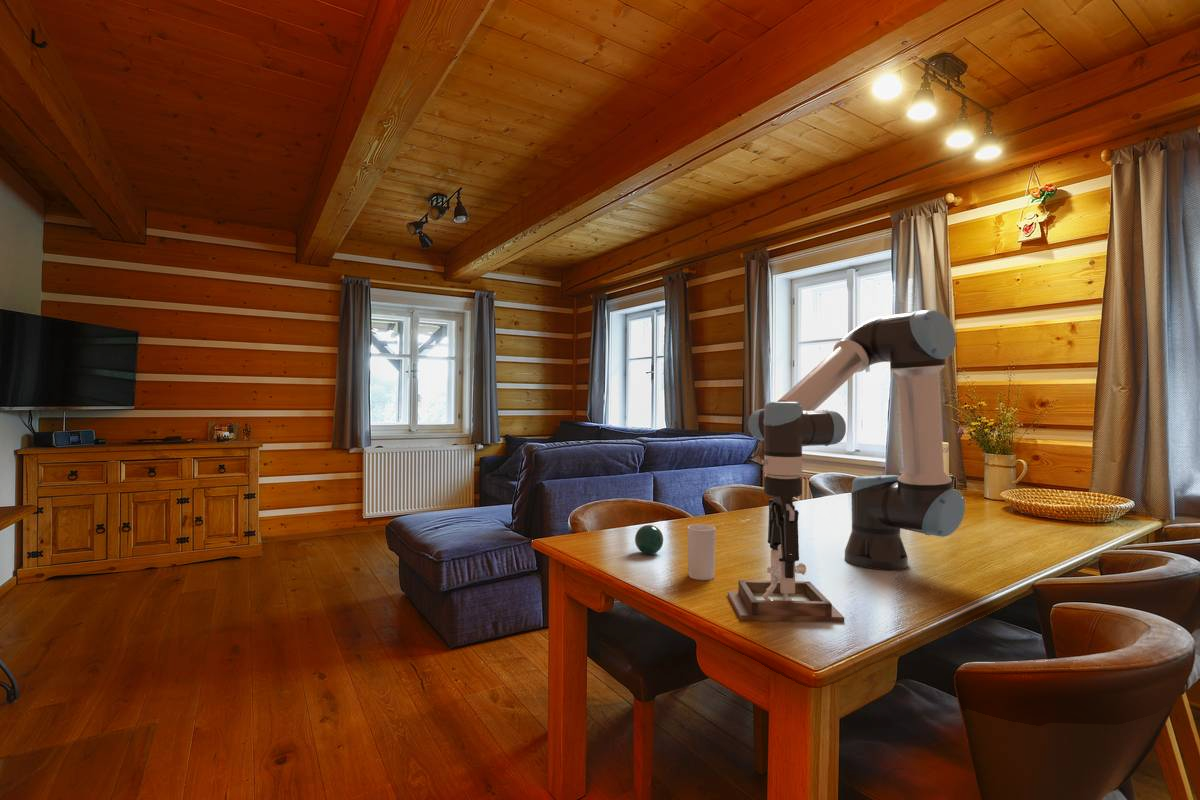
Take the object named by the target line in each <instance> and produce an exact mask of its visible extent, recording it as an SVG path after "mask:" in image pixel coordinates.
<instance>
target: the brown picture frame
mask: <svg viewBox="0 0 1200 800" xmlns="http://www.w3.org/2000/svg"><path fill="white" fill-rule="evenodd" d="M770 585H771V580H741V579H740V580H739V579H738V590H727V597H728V599H729V601H730V603H731V605H732V607H733V608H734V609H733V610H735V613H736V614H737V616H738V618H739V620H740V621H745V622H748V621H749V622H750V621H753V622H754V621H757V622H759V621H760V622H762V621H763V622H797V623H798V622H802V623H803V622H804V623H805V622H809V623H810V622H811V623H845V616H843V614H842V613H841V612H840V611H839V610H838V609H837V608H836V607H835V606H834V605H833V604H832V602H831V601H830V600H828V598H827V596H825V595H824V594H823V593H822V592H821V591H820V590H819V589H818V588H817V587H816V586H815V585H814V584H813V583H812V582H811V581H803V580H802V581H801V580H800V581H796V580H795V594H791V593H788V597H789V598H791V599H793V600H794V601H775V600H780V599H783V593H781V592H780V581H778V583H777V586H776V588H775V590H774V591H773V592H772V594H770V595H769V596H768V598H769V599H772V600H765V599H764V598H763V597H762V596H763V594H764V593H765V592H766V589H767V588H768V587H769V586H770Z"/></svg>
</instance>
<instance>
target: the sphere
mask: <svg viewBox="0 0 1200 800" xmlns="http://www.w3.org/2000/svg"><path fill="white" fill-rule="evenodd" d="M634 543H635V547H637V549H638V550H639V552H641V553H643V554H646V555H654V554H656V553H658V552H659V551H661V549H662V547H663V545H664V535H663V532H662V531H661V530H660V528H658V527H657V526H655V525H653V524H646V525H643V526H641V527H639V528H638V530H637V531H636V533H635V536H634Z"/></svg>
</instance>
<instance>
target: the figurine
mask: <svg viewBox="0 0 1200 800" xmlns="http://www.w3.org/2000/svg"><path fill="white" fill-rule="evenodd" d="M778 551H779V552H778V553H777V554H775V555H774V556H772V561H771V560H770V567H767V574H770V581H771V585H770V586H769V587H768V588H767V589H766V592H765V593H764V594H763V596H762V597H763V598H764V599H765V600H772V599H769V598H768V596H769V595H770V594H772V592H773V591H774V590H775V588H776V586H777V583H778V581H780V561H779V558H782V550H781V544H779V545H778ZM771 567H772V568H771ZM806 571H807V566H806V564H804V563H803V562H799V563H798V564H797V565H795V574H802V576H805V574H806ZM775 601H794V600H793V599H791V598H789V597H788V593H783V599H780V600H775Z"/></svg>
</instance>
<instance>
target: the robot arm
mask: <svg viewBox="0 0 1200 800" xmlns="http://www.w3.org/2000/svg"><path fill="white" fill-rule="evenodd" d="M956 346H957V338H956V332H955V328H954V326H953V324H952V322H951V321H950V319H949V318H948V317H947V315H945V314H944V313H942V312H941V311H939V310H935V309H930V310H929V309H926V310H919V309H918V310H915V311H910V312H909V311H908V312H903V313H897V314H890V315H882V316H876V317H874V318H871V319H869V320H867V321H865V322H863V323H862V324H860V325H858V326H857V327H855V328H853V330H851V331H850V332H849V333H848V332H847V334H846V335H844V336H842V338H841V339H840V340H838V342H836V343H835V345H834V347H833V351H832V352H831V353H830V354H829V355H828V356H827V357H826V358H824V359H823V360H822V361H821V362H820V363H819V364H818V365H817V366H815V367H814V368H813V369H812V370H811V371H809V373H808V374H806V375H805V376H804V377H803V378H802V379H800V380H799V381H798V382H797V383H796V384H795V385H794V386H793V387H792V388H791V389H789V390H788V391H787V392H786V393H785V394H784V395H783V396H781V398H779V399H778V400H777V401H770V402H767V403H766V404H765V406H764V408H762V409H757V410H755V411H753V412H752V413H751V414H750V416H749V419H748V422H747V423H748V424H747V425H748V431H749V433H750V434H751V436H752V437H753V438H754V439H756V440H759V441H763V449H764V450H763V455H764V456H763V457H764V459H761V465H764V466H763V468H764V469H763V473H764V474H765V476H764V478H763V493H764V494H765V495H767V496H769V497H772V498H768V501H767V502H768V529H767V531H768V532H767V544H769V549H770V562H771V561H772V556H774V555H775V554H777V553H778V552H779V551H778V545H779V544H781V550H782V558H779V561H780V592H781V593H791V594H795V581H796V572H795V566H796V562H799V561H800V553H799V552H800V550H799V546H800V545H799V514H800V513H799V510H797V509H796V507H795V504H794V503H793V502H794V501H793V498H797V497H800V496H802V494H803V479H802V478H801V477H800V476H802V475H803V447H812V446H813V447H814V446H815V447H817V446H825V447H828V446H831V445H836V444H839V443H840V442H841V441H842V440H844V437H845V435H846V432H847V426H846V421H845V419H844V418H843V416H842V415H841V414H840V413H838V412H837V411H833V410H828V409H825V410H824V409H822V410H817V409H818V408H819V407H820V406H821V405H822V404H823V403H825V401H826V400H828V398H830V396H832V395H833V394H834V393H835V392H836V391H838V390H839V388H841V386H843V385H844V384H845V383H846V382H847V381H848V380H850V378H851V377H852V376H853V375H855V374H856V373H861V372H863V371H865V370H866V369H867V368H868V367H869V366H872V365H874V364H875V365H876V364H879V363H885V362H886V363H890V368H889V369H890V371H891V372H893V373H894V374H895V375H896V376H897V381H898V383H897V384H898V398H899V413H900V415H899V416H900V430H901V431H900V432H901V445H902V449H901V450H902V464H903V472H902V473H901V474H900V475H896V474H888V475H887V474H883V475H881V474H879V475H862V476H856V477H854V479H853V480H852V483H851V484H852V486H851V492H850V493H851V531H850V535H849V537H848V541H847V544H846V546H845V548H844V560H845V561H846V562H848V563H850V564H852V565H855V566H859V567H862V568H868V569H872V570H873V569H874V570H885V571H887V570H888V571H891V570H892V571H896V570H903V569H906V568H907V567H909V559H908V558H909V557H908V555H907V551H906V547H905V545H904V543H903V539H902V537H901V529H902V530H905V531H910V532H911V531H912V532H915V533H920V534H924V535H925V536H936V537H940V538H942V537H948V536H950V535H952V534H954V533H955V532H956V531H957V530H958V528H959V527H960V525H961V524H962V522H963V519H964V515H965V511H966V501H965V497H964V496H963V493H962V492H961V491H959V490H958V489H956V488H953V479H952V477H950V476H949V475H948V474H947V473H946V472H945V463H944V448H943V444H944V443H943V429H942V415H941V413H942V412H941V396H940V393H941V391H940V381H939V380H940V378H939V377H940V376H939V373H940V372H941V371H942V370H943V369H944V368H945V367H946V359H948V358H949V357H951V356H952V354H953V353H954V352H955V348H956ZM770 568H772V567H771V566H770Z"/></svg>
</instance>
